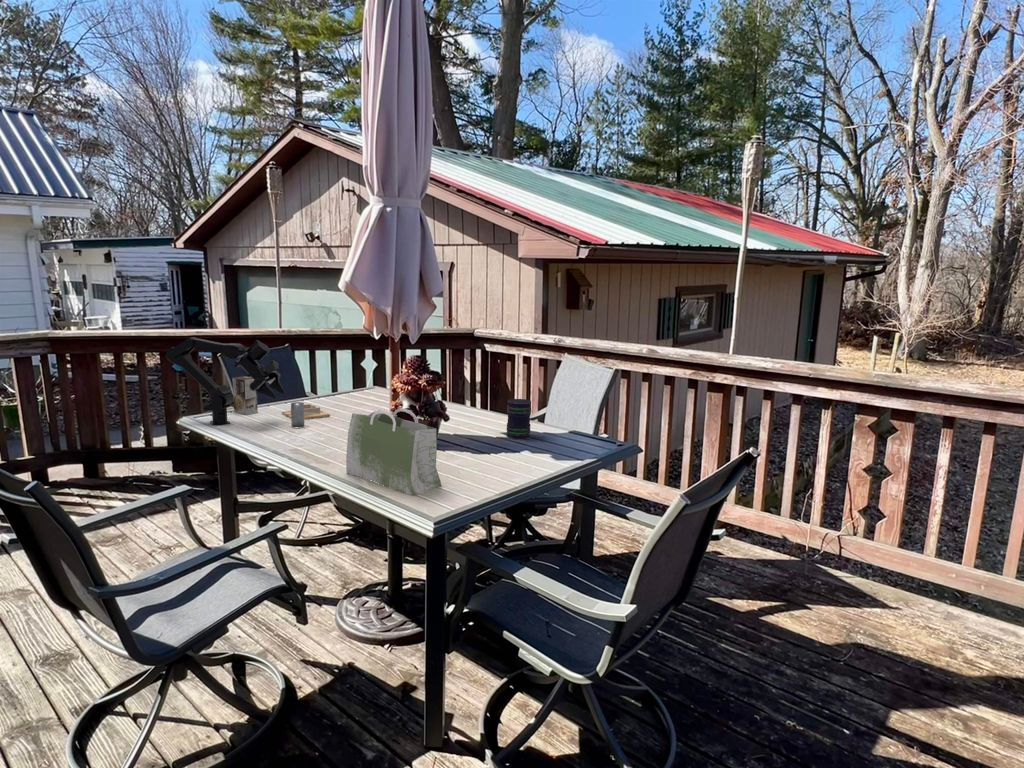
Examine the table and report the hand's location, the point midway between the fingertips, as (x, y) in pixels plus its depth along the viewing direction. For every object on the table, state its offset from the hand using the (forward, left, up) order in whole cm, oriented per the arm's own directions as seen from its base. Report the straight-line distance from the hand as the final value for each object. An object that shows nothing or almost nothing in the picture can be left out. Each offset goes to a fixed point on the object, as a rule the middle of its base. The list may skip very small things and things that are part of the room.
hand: (279, 395), depth 262 cm
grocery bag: (+87, +5, -13) cm, 88 cm away
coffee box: (-32, -4, -13) cm, 35 cm away
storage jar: (+67, +75, -13) cm, 101 cm away
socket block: (-13, +16, -13) cm, 25 cm away
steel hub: (+5, +6, -13) cm, 15 cm away
